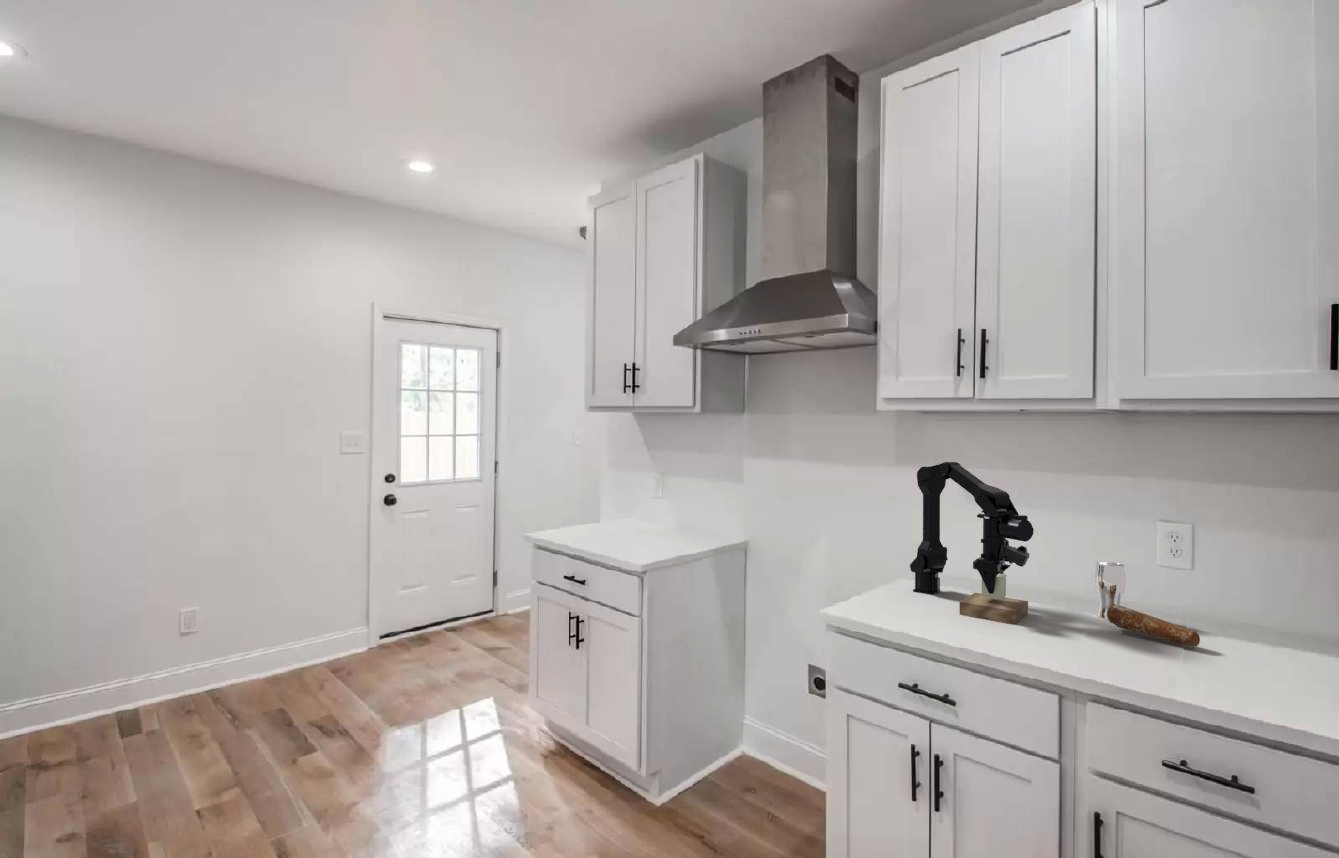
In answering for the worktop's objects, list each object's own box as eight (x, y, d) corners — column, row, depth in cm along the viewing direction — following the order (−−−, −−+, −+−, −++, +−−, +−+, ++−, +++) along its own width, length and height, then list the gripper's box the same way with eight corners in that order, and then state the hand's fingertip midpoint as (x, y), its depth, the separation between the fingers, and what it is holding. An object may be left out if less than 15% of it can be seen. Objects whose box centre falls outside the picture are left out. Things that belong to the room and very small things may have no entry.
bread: (1112, 625, 169) (1116, 604, 170) (1202, 649, 153) (1205, 625, 154) (1101, 623, 166) (1105, 601, 167) (1192, 647, 150) (1195, 623, 151)
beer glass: (1099, 620, 175) (1099, 565, 176) (1091, 614, 182) (1091, 560, 182) (1129, 623, 173) (1129, 567, 174) (1119, 616, 180) (1120, 562, 180)
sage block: (981, 596, 181) (981, 574, 181) (986, 593, 185) (986, 571, 185) (1001, 599, 178) (1001, 577, 178) (1005, 596, 182) (1006, 574, 182)
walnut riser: (959, 616, 180) (959, 601, 181) (974, 606, 191) (974, 592, 191) (1015, 626, 171) (1015, 611, 171) (1027, 615, 182) (1028, 601, 182)
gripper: (1018, 543, 169) (1017, 603, 169) (1034, 535, 183) (1033, 590, 183) (972, 538, 176) (972, 596, 176) (991, 531, 190) (991, 584, 190)
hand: (993, 591), depth 181 cm, fingers closed on sage block, 5 cm apart
